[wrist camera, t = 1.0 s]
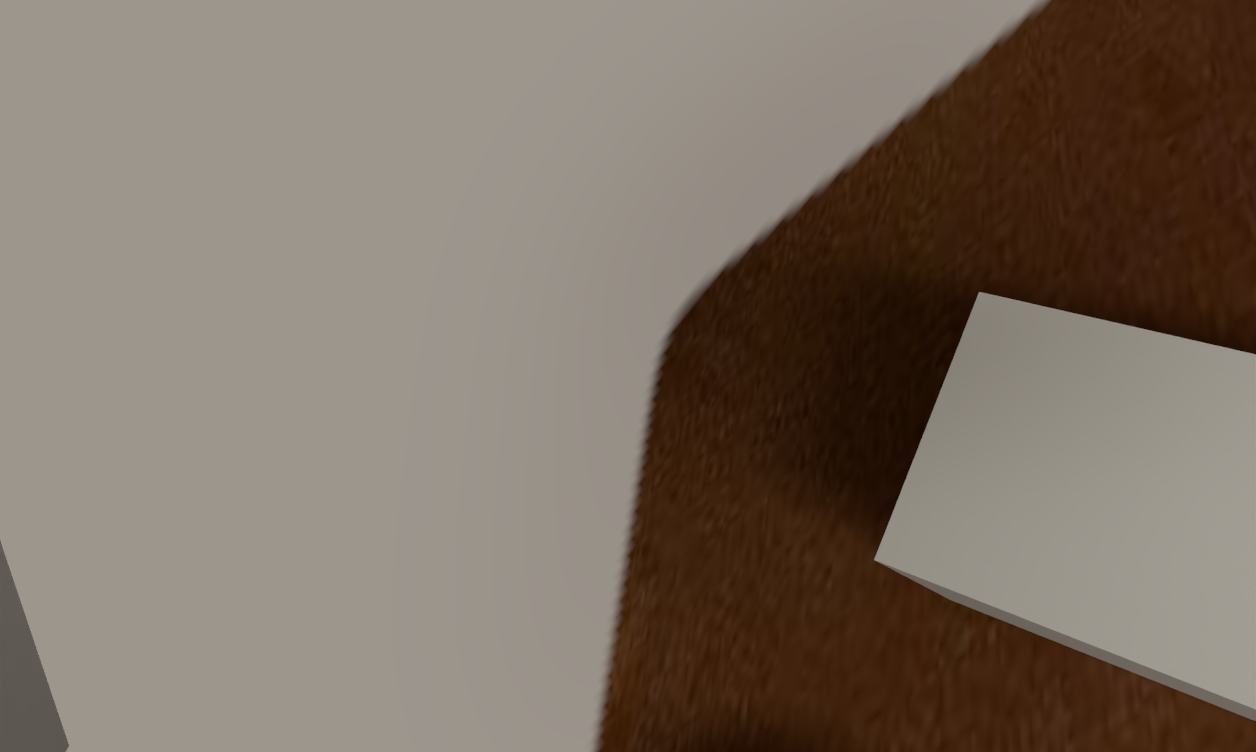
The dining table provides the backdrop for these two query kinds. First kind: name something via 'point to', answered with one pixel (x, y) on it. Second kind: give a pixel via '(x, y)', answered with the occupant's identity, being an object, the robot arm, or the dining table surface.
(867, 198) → the dining table surface
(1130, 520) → the block
